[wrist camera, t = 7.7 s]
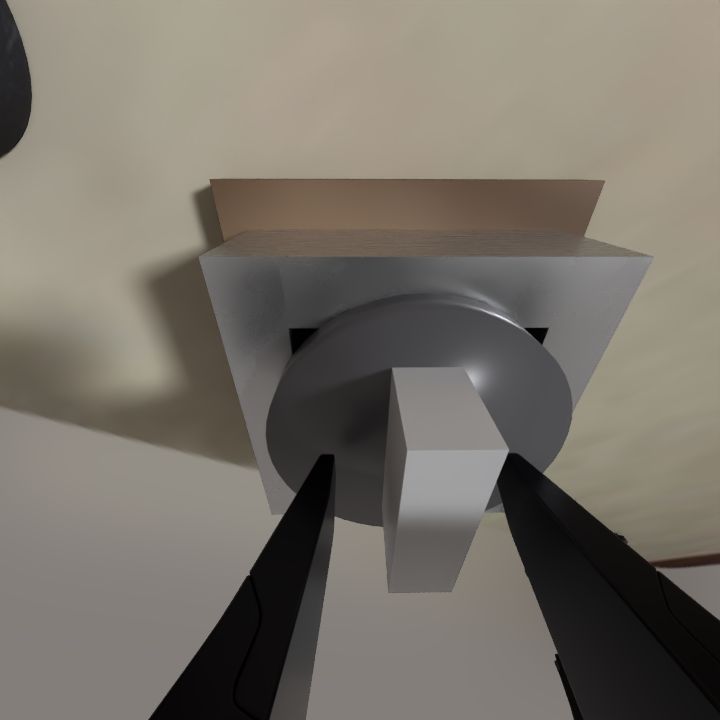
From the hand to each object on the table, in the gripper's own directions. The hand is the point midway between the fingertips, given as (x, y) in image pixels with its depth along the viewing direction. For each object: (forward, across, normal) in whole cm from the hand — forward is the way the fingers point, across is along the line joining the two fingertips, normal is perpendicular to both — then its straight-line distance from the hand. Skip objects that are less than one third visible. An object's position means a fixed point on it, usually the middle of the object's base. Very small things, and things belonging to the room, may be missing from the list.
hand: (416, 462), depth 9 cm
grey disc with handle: (+5, 0, 0) cm, 5 cm away
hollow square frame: (+6, 0, 0) cm, 6 cm away
